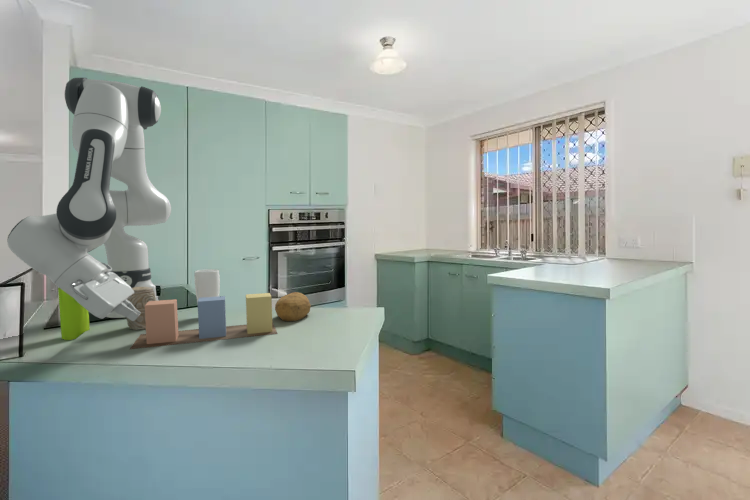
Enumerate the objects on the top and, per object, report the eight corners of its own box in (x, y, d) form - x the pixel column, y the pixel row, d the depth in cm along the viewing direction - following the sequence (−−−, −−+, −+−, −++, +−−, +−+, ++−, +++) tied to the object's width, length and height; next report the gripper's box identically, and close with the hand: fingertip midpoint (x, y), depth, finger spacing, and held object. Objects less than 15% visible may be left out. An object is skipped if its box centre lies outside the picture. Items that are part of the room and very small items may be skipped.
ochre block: (246, 328, 103) (245, 294, 102) (270, 326, 105) (269, 292, 104) (247, 334, 98) (246, 298, 98) (272, 331, 100) (271, 296, 100)
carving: (127, 331, 107) (124, 287, 106) (158, 327, 111) (156, 284, 110) (125, 337, 102) (123, 291, 101) (159, 333, 105) (157, 288, 104)
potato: (267, 328, 109) (267, 299, 108) (284, 315, 123) (283, 290, 122) (302, 329, 108) (301, 299, 108) (315, 316, 122) (314, 290, 122)
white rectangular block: (212, 324, 113) (210, 272, 112) (191, 323, 115) (189, 271, 113) (225, 318, 120) (224, 269, 119) (205, 317, 121) (203, 268, 120)
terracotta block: (150, 338, 96) (148, 301, 95) (178, 335, 98) (176, 299, 97) (146, 344, 91) (144, 305, 90) (175, 341, 93) (174, 303, 92)
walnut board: (141, 340, 99) (140, 334, 99) (273, 327, 110) (272, 322, 110) (129, 355, 88) (129, 349, 88) (277, 339, 99) (277, 333, 98)
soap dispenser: (70, 333, 106) (64, 258, 104) (95, 333, 105) (90, 258, 104) (51, 340, 100) (45, 260, 98) (78, 340, 100) (72, 260, 98)
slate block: (200, 333, 99) (199, 297, 99) (226, 330, 101) (224, 296, 101) (199, 338, 95) (197, 301, 94) (226, 336, 97) (224, 299, 96)
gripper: (78, 273, 79) (138, 317, 83) (109, 263, 98) (155, 299, 102) (53, 297, 78) (114, 340, 82) (88, 282, 97) (136, 318, 101)
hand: (137, 317), depth 92 cm, fingers closed
